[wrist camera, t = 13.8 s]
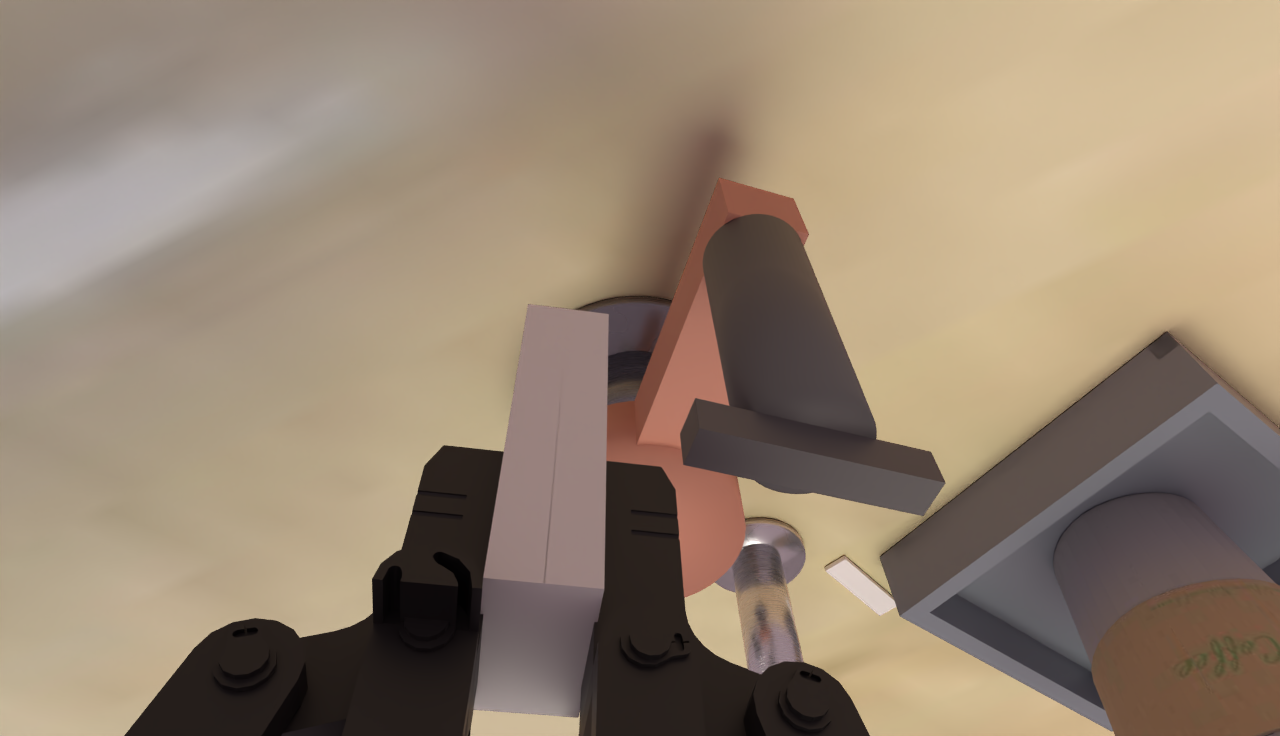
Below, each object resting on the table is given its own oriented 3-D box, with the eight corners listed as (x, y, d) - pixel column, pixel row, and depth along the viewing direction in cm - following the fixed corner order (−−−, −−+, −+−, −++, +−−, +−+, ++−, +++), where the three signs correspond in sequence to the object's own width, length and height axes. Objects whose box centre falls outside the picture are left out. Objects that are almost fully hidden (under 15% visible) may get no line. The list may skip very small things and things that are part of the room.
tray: (879, 557, 36) (899, 616, 33) (1167, 331, 30) (1217, 383, 27) (1081, 673, 41) (1111, 731, 38) (1362, 499, 35) (1419, 555, 32)
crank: (697, 559, 29) (731, 848, 22) (522, 525, 28) (491, 819, 20) (869, 212, 22) (1012, 457, 14) (643, 148, 21) (667, 377, 13)
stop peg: (685, 561, 36) (700, 705, 30) (750, 503, 34) (777, 645, 28) (758, 598, 37) (784, 742, 32) (824, 545, 35) (863, 687, 30)
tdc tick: (824, 567, 36) (825, 571, 36) (844, 555, 36) (845, 559, 36) (878, 612, 38) (879, 615, 38) (898, 601, 37) (899, 604, 37)
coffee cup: (1223, 417, 31) (1628, 848, 19) (1269, 567, 36) (1617, 990, 23) (971, 524, 34) (1181, 962, 21) (1045, 650, 38) (1252, 1069, 26)
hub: (477, 415, 31) (462, 493, 28) (609, 252, 27) (610, 319, 24) (655, 509, 34) (660, 590, 31) (795, 373, 30) (818, 448, 27)
